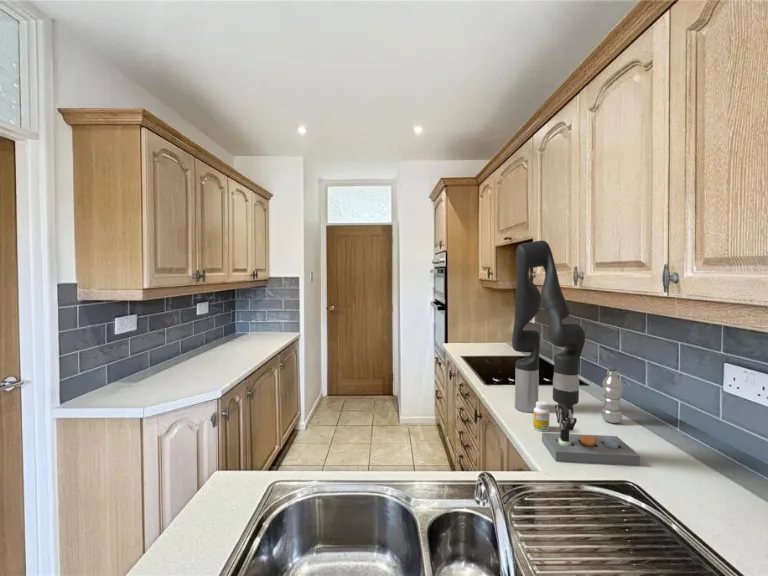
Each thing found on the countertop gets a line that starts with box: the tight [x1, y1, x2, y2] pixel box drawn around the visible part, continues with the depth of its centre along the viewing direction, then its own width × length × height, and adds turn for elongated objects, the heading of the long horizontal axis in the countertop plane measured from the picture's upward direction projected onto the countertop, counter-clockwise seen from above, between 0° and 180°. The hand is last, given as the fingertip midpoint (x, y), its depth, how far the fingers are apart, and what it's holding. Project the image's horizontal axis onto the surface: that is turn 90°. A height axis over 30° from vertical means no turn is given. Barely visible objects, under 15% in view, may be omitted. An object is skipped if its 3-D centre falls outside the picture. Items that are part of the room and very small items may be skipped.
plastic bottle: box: [601, 368, 623, 424], centre depth 148 cm, size 6×7×20 cm
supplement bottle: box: [532, 400, 550, 433], centre depth 141 cm, size 5×5×10 cm
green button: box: [558, 438, 572, 446], centre depth 123 cm, size 4×4×2 cm
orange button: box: [581, 434, 595, 447], centre depth 123 cm, size 4×4×2 cm
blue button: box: [604, 440, 618, 448], centre depth 122 cm, size 4×4×2 cm
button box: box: [541, 432, 641, 467], centre depth 123 cm, size 14×24×3 cm, turn 84°
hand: (564, 440), depth 123 cm, fingers closed
